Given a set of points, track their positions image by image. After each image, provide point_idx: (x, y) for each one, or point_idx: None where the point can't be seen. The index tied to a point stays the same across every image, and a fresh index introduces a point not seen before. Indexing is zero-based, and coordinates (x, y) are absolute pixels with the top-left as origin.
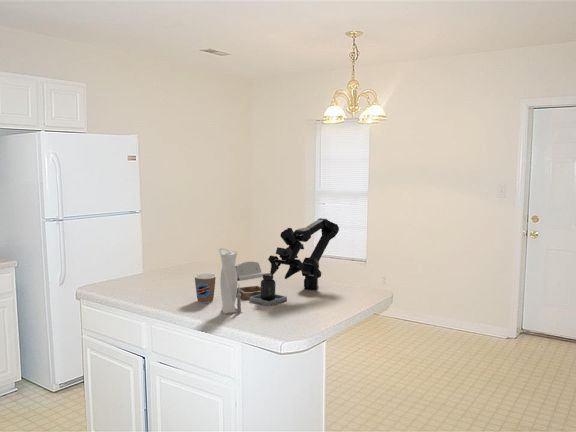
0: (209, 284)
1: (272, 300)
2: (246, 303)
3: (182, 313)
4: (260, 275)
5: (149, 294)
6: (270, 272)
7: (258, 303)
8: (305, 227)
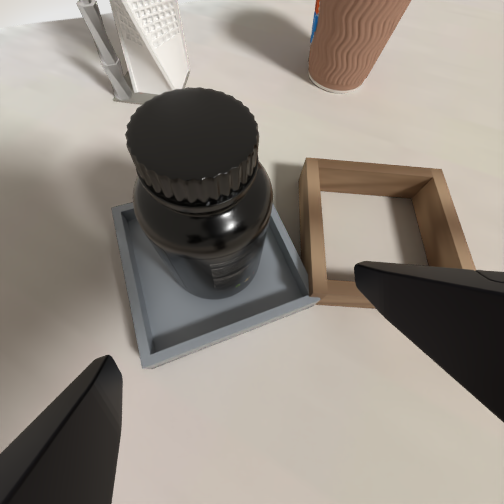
0: None
1: (122, 234)
2: None
3: (226, 6)
4: None
5: (466, 12)
6: (395, 265)
7: None
8: None
